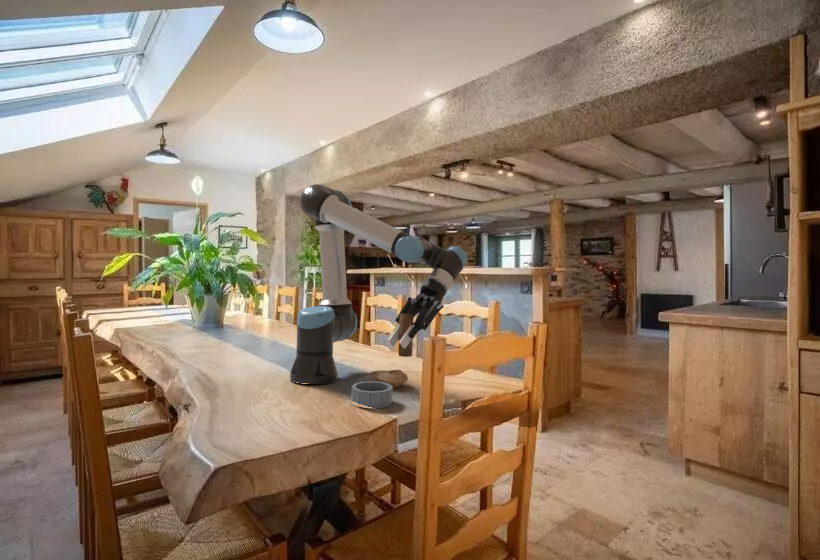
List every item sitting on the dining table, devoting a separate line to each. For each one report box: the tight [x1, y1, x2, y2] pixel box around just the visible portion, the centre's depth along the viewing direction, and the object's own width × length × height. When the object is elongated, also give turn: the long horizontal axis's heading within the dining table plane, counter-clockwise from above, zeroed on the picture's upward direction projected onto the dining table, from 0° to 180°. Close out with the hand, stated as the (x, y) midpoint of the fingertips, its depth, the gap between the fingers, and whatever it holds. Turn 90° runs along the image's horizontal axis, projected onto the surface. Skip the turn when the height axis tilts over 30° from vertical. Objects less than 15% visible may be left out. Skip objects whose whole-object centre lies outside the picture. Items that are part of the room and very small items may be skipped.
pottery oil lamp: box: [369, 369, 409, 389], centre depth 138 cm, size 9×12×7 cm
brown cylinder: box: [398, 314, 415, 358], centre depth 127 cm, size 4×4×12 cm
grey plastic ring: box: [350, 380, 394, 410], centre depth 119 cm, size 11×11×4 cm
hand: (396, 344), depth 124 cm, fingers closed on brown cylinder, 4 cm apart
